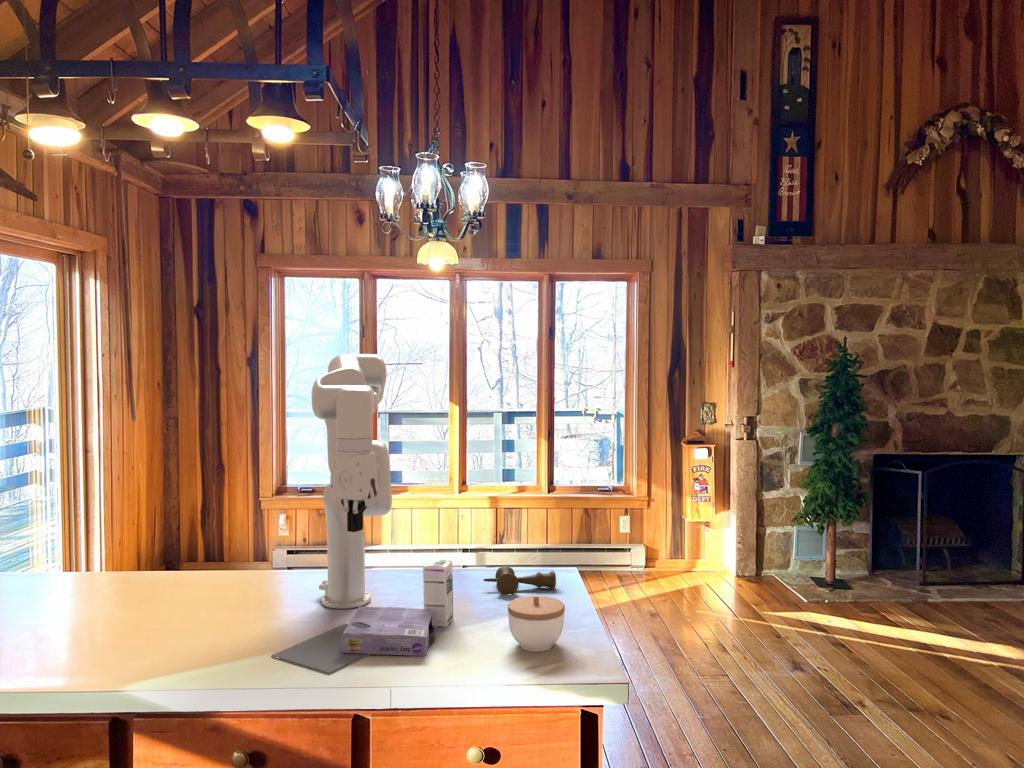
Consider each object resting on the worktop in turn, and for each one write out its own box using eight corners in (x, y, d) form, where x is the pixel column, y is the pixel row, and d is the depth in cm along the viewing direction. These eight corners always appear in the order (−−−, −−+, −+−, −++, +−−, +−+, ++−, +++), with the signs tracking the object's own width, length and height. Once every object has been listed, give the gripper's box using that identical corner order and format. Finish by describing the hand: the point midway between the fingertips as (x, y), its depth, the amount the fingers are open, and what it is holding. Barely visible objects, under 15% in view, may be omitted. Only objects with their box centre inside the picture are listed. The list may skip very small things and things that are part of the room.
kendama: (557, 596, 203) (483, 596, 201) (552, 586, 212) (482, 586, 210) (558, 573, 202) (484, 573, 201) (553, 564, 212) (482, 564, 210)
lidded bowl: (548, 661, 158) (548, 609, 157) (497, 649, 164) (497, 599, 164) (574, 641, 169) (574, 592, 168) (524, 631, 175) (524, 584, 175)
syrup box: (447, 627, 177) (446, 566, 177) (423, 626, 178) (422, 565, 178) (453, 619, 183) (453, 560, 182) (430, 617, 184) (430, 559, 183)
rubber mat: (271, 656, 160) (271, 655, 160) (345, 625, 179) (344, 623, 179) (329, 674, 151) (329, 672, 151) (400, 639, 170) (400, 637, 170)
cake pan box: (431, 658, 160) (437, 625, 178) (431, 636, 160) (438, 605, 178) (340, 656, 160) (356, 623, 178) (341, 633, 160) (356, 603, 177)
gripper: (316, 445, 161) (317, 529, 162) (368, 450, 153) (369, 539, 154) (341, 441, 168) (342, 523, 168) (393, 446, 160) (393, 531, 161)
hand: (355, 530), depth 161 cm, fingers closed
